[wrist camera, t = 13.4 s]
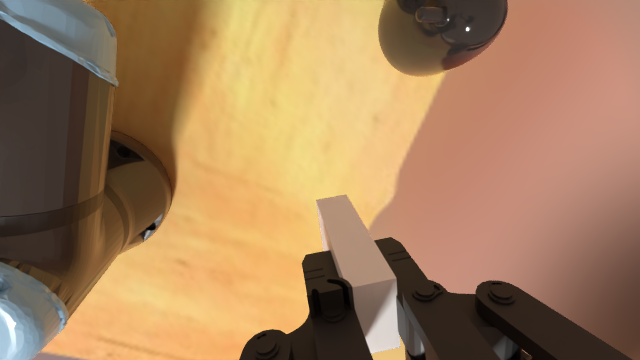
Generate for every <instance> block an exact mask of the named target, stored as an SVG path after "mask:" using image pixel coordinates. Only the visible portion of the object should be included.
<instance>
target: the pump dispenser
mask: <svg viewBox="0 0 640 360" xmlns="http://www.w3.org/2000/svg"><path fill="white" fill-rule="evenodd" d="M507 13H508V2H507V0H386V1H385V3H384V6H383V8H382V11H381V14H380V18H379V25H378V35H379V42H380V46H381V49H382V51H383V54H384V56H385V57H386V59H387V60H388V62H389V63H390V64H391V65H392V66H393V67H394V68H395V69H397V70H398V71H400V72H402V73H404V74H407V75H410V76H417V77H424V76H432V75H436V74H440V73H444V72H447V71H450V70H452V69H454V68H457V67H459V66H461V65H463V64H465V63H466V62H468V61H470V60H472V59H473V58H475V57H476V56H478V55H479V54H481V53H482V52H483V51H484V50H485V49H487V48H488V47H489V46H490V45H491V44H492V43H493V42H494V40H495V39H496V38H497V36H498V35H499V33H500V32H501V30H502V28H503V26H504V24H505V21H506V18H507Z"/></svg>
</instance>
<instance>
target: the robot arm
mask: <svg viewBox="0 0 640 360" xmlns="http://www.w3.org/2000/svg"><path fill="white" fill-rule="evenodd" d="M116 56H117V36H116V32H115V30H114V28H113V26H112V24H111V23H110V21H109V20H108V19H107V18H106V17H105V16H104V15H103V14H102V13H101V12H100V11H98V10H97V9H96V8H94V7H93V6H91V5H89V4H88V3H86V2H84V1H82V0H0V360H32V359H33V358H34V357H35V356H36V355H37V354H38V353H39V352H40V351H41V350H42V349H43V348H44V347H45V346H46V345H47V344H48V343H49V342H50V341H51V340H52V339H53V338H54V337H55V336H56V335H57V334H59V332H60V331H62V329H63V328H64V327H65V326H66V324H67V320H68V319H69V318H70V316H71V315H72V314H73V313H74V311H75V310H76V309H77V307H78V306H79V305H80V304H81V302H82V301H83V300H84V298H85V297H86V296H87V294H88V293H89V292H90V291H91V289H92V288H93V287H94V285H95V284H96V283H97V282H98V280H99V279H100V278H101V276H102V275H103V274H104V272H105V271H106V270H107V269H108V267H109V266H110V265H111V263H112V262H113V261H114V259H115V258H116V257H117V256H118V255H119V254H121V253H123V252H125V251H127V250H129V249H131V248H133V247H135V246H137V245H139V244H141V243H142V242H144V241H145V240H147V239H148V238H149V237H150V236H152V235H153V234H154V233H155V232H156V230H157V229H158V228H159V226H160V225H161V223H162V222H163V220H164V219H165V217H166V215H167V213H168V211H169V208H170V204H171V185H170V181H169V178H168V175H167V173H166V171H165V169H164V167H163V165H162V164H161V162H160V161H159V160H158V158H157V157H156V156H155V155H154V154H153V153H152V152H151V151H150V150H149V149H148V148H147V147H145V146H144V145H143V144H141V143H140V142H138V141H137V140H135V139H133V138H131V137H129V136H127V135H124V134H122V133H119V132H116V131H112V130H111V126H112V116H113V106H114V96H115V87H117V88H118V85H119V82H118V80H117V78H116ZM316 204H317V210H318V217H319V224H320V231H321V238H322V245H323V250H324V251H323V252H318V253H313V254H308V255H306V256H305V258H304V260H303V262H302V266H303V272H304V278H305V284H306V290H307V298H308V304H309V315H308V318H307V320H306V321H305V323H304V324H303V325H301V326H300V327H299V328H298V329H296V330H294V331H293V332H291V333H289V334H285V333H284V332H282V331H280V330H273V329H271V330H266V331H262V332H260V333H258V334H256V335H254V336H253V337H252V338H251V339H250V340H249V341H248V342H247V343H246V345H245V347H244V349H243V351H242V354H241V356H240V359H239V360H373V358H372V356H371V354H372V353H376V352H380V351H384V350H389V349H393V348H398V347H400V337H401V339H402V340H403V343H404V345H405V354H406V360H632V359H631V358H629V357H628V356H626V355H624V354H623V353H621V352H620V351H618V350H616V349H615V348H613V347H611V346H610V345H608V344H607V343H605V342H604V341H602V340H601V339H599V338H597V337H596V336H594V335H592V334H591V333H589V332H588V331H586V330H585V329H583V328H581V327H580V326H578V325H577V324H575V323H573V322H572V321H570V320H569V319H567V318H566V317H564V316H562V315H561V314H559V313H558V312H556V311H554V310H553V309H551V308H549V307H548V306H546V305H545V304H543V303H542V302H540V301H538V300H537V299H535V298H534V297H532V296H531V295H529V294H527V293H526V292H524V291H523V290H521V289H519V288H518V287H516V286H514V285H512V284H510V283H506V282H502V281H486V282H482V283H481V284H480V285H478V286H477V289H476V294H457V293H450V292H447V290H446V289H445V288H443V286H441V285H440V284H438V283H436V282H434V281H431V280H428V279H427V277H426V276H425V275H424V273H423V272H422V271H421V269H420V268H419V267H418V265H417V264H416V263H415V261H414V260H413V259H412V258H411V256H410V255H409V253H408V252H407V251H406V249H405V248H404V247H403V245H402V244H401V243H400V242H398V241H397V240H395V239H393V238H391V237H389V238H384V239H380V240H373V238H372V237H371V235H370V233H369V232H368V230H367V228H366V227H365V225H364V223H363V222H362V220H361V218H360V217H359V215H358V213H357V212H356V210H355V208H354V207H353V205H352V203H351V202H350V200H349V198H348V197H347V195H341V196H336V197H330V198H325V199H319V200H316ZM399 335H400V336H399ZM522 349H523V350H524V351H525V352H527V353H528V354H529V355H531V356H529V355H528V354H526V353H525V352H524V351H522Z"/></svg>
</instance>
